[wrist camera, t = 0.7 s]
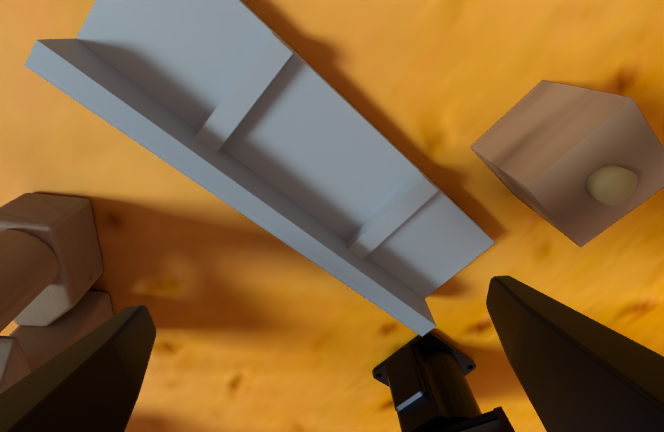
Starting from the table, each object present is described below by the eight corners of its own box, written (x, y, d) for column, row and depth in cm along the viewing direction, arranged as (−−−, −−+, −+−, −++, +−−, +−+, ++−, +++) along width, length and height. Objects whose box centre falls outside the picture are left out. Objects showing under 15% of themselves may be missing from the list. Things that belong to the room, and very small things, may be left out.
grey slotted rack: (484, 230, 23) (516, 266, 20) (406, 294, 25) (422, 336, 22) (157, -80, 15) (110, -115, 11) (83, 58, 17) (24, 65, 13)
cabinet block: (587, 136, 21) (703, 178, 15) (515, 196, 22) (592, 256, 16) (544, 77, 19) (655, 97, 13) (469, 146, 20) (536, 194, 14)
